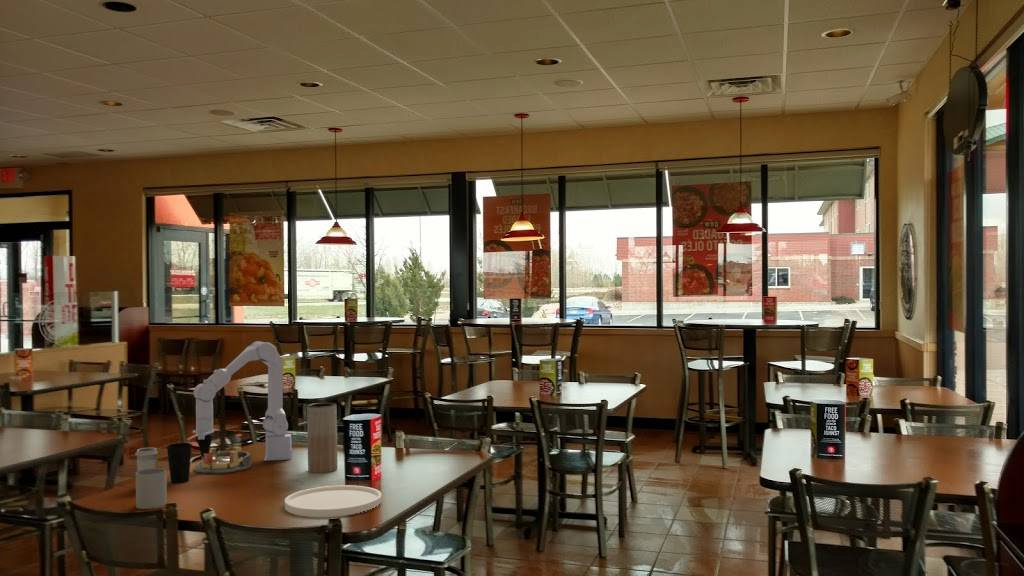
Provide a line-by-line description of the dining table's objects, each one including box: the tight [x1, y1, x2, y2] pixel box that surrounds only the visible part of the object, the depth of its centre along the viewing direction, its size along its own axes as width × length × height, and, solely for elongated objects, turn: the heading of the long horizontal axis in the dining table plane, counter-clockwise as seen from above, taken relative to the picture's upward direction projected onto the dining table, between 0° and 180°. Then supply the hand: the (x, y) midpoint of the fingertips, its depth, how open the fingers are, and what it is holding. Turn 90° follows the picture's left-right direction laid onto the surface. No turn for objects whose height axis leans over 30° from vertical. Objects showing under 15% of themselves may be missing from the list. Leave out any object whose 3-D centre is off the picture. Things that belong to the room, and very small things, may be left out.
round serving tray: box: [194, 450, 252, 475], centre depth 297 cm, size 19×19×4 cm
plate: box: [284, 484, 383, 518], centre depth 247 cm, size 28×28×2 cm
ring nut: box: [199, 446, 243, 469], centre depth 297 cm, size 15×15×5 cm
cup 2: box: [135, 467, 168, 510], centre depth 248 cm, size 8×8×10 cm
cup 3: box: [166, 442, 193, 484], centre depth 278 cm, size 8×8×12 cm
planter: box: [306, 402, 338, 474], centre depth 292 cm, size 10×10×23 cm
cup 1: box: [135, 447, 159, 471], centre depth 271 cm, size 7×7×12 cm
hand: (205, 456), depth 296 cm, fingers closed
